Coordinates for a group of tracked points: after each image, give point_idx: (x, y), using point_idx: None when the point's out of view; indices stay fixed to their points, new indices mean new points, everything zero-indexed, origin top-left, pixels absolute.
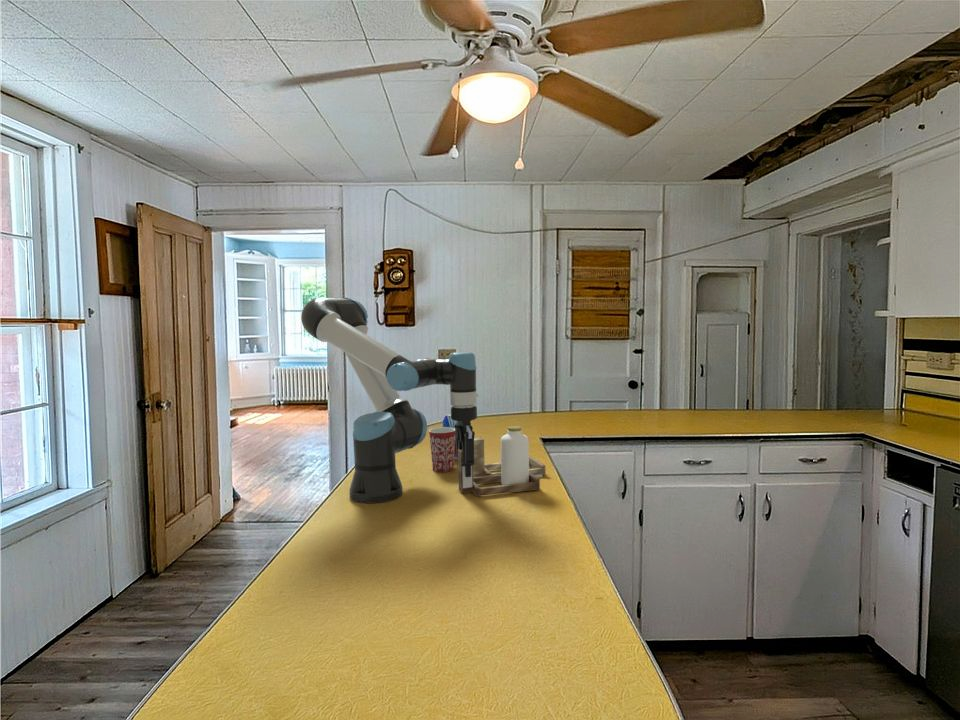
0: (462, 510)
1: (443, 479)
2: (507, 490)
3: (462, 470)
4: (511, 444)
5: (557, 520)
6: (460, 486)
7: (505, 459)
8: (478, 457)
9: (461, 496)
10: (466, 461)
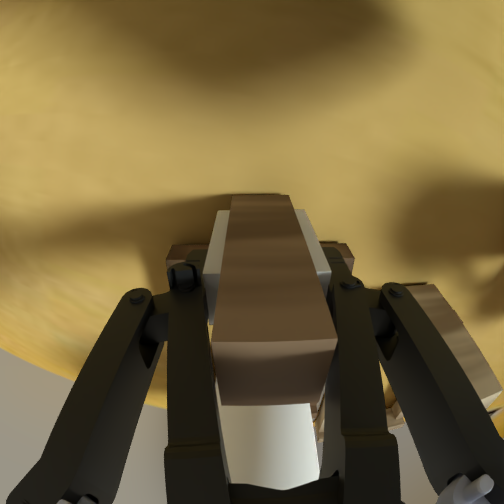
0: (53, 164)
1: (457, 181)
2: None
3: (218, 254)
4: None
5: (21, 344)
6: (252, 203)
7: (235, 434)
8: None
9: (207, 186)
10: (117, 311)
